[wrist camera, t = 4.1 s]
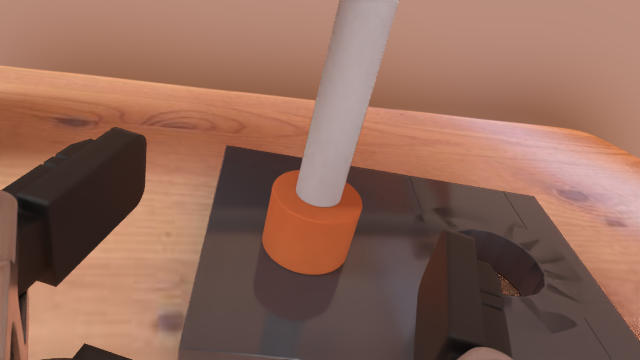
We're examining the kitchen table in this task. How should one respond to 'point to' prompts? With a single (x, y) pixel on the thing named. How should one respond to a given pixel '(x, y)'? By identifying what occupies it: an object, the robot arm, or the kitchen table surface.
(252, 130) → the kitchen table surface
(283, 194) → the stopper
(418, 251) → the dark grey slab
